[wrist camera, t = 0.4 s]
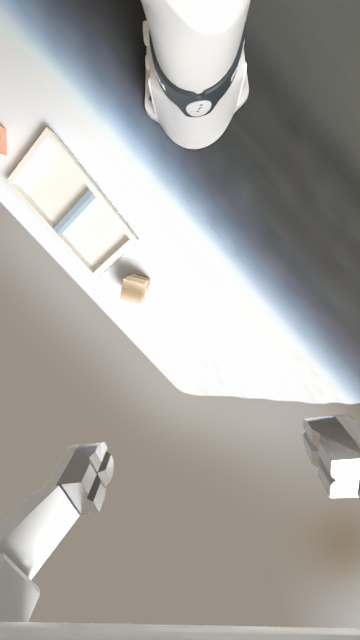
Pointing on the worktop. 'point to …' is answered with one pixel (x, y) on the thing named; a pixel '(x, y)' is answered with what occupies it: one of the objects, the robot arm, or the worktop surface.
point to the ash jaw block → (134, 288)
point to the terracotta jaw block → (3, 141)
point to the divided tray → (71, 205)
